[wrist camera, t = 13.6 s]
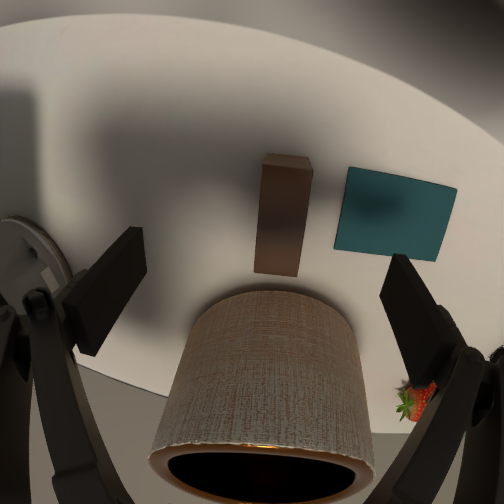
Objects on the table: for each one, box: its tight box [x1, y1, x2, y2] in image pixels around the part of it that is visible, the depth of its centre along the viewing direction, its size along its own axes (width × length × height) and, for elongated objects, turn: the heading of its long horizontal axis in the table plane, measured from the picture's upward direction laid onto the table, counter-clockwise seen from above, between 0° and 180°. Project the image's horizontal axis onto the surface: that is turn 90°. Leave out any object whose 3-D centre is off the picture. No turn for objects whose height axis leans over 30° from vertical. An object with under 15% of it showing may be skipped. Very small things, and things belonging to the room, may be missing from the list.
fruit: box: [396, 383, 436, 422], centre depth 31 cm, size 5×5×8 cm
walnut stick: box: [254, 153, 313, 277], centre depth 22 cm, size 8×3×4 cm, turn 176°
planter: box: [148, 290, 375, 504], centre depth 25 cm, size 18×18×16 cm
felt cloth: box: [334, 167, 457, 262], centre depth 23 cm, size 10×7×1 cm
